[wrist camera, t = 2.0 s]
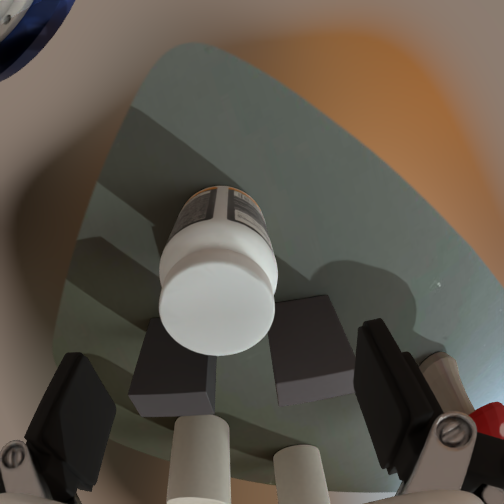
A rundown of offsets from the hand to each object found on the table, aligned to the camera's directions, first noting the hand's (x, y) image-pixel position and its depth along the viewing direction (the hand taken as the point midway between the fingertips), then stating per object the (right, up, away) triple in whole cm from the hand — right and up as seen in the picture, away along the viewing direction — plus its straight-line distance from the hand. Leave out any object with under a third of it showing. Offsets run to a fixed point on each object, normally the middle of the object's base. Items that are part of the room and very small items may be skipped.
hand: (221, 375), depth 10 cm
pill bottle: (-1, +6, +12) cm, 13 cm away
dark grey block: (-4, -2, +15) cm, 16 cm away
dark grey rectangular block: (+4, -1, +15) cm, 16 cm away
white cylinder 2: (+7, -22, +25) cm, 34 cm away
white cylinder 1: (-4, -15, +21) cm, 27 cm away
